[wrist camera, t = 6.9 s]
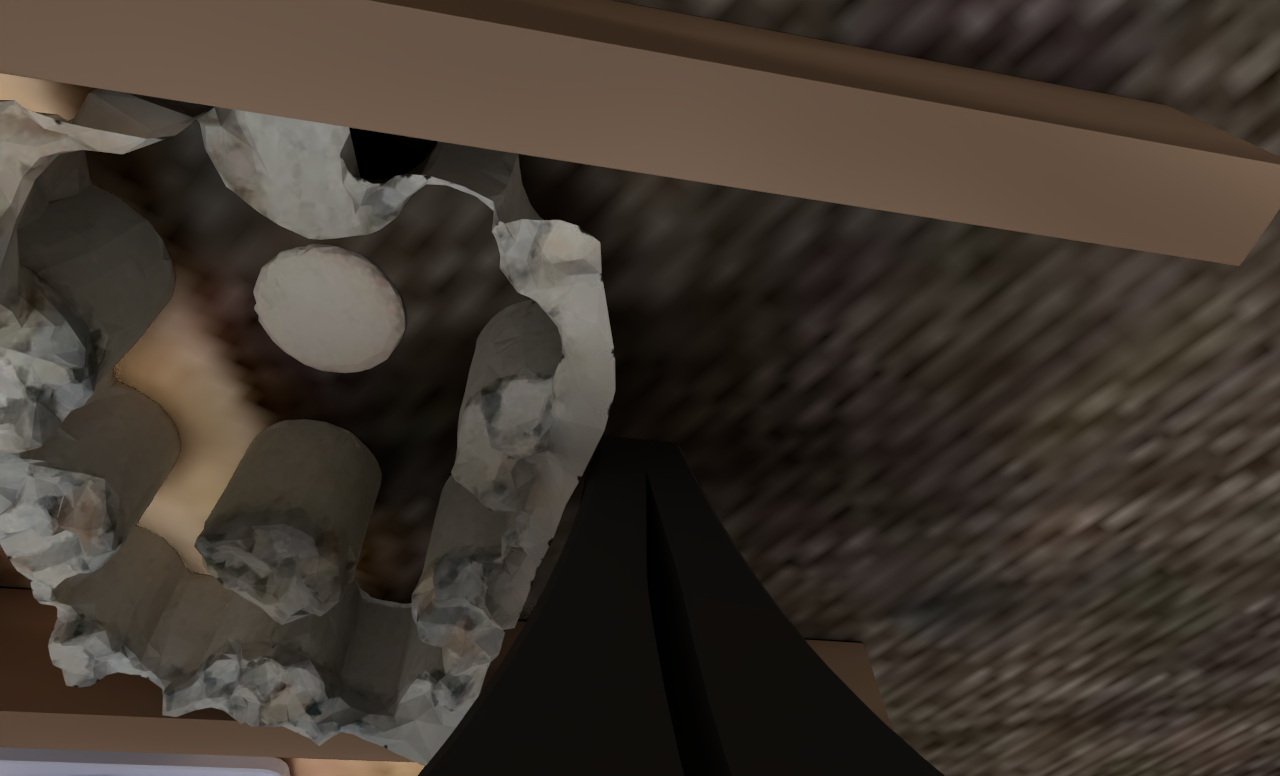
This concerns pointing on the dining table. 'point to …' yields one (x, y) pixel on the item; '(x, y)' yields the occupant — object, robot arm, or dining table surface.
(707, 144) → the channel
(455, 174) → the egg carton
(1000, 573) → the dining table surface
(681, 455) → the robot arm
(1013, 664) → the dining table surface
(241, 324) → the dining table surface
